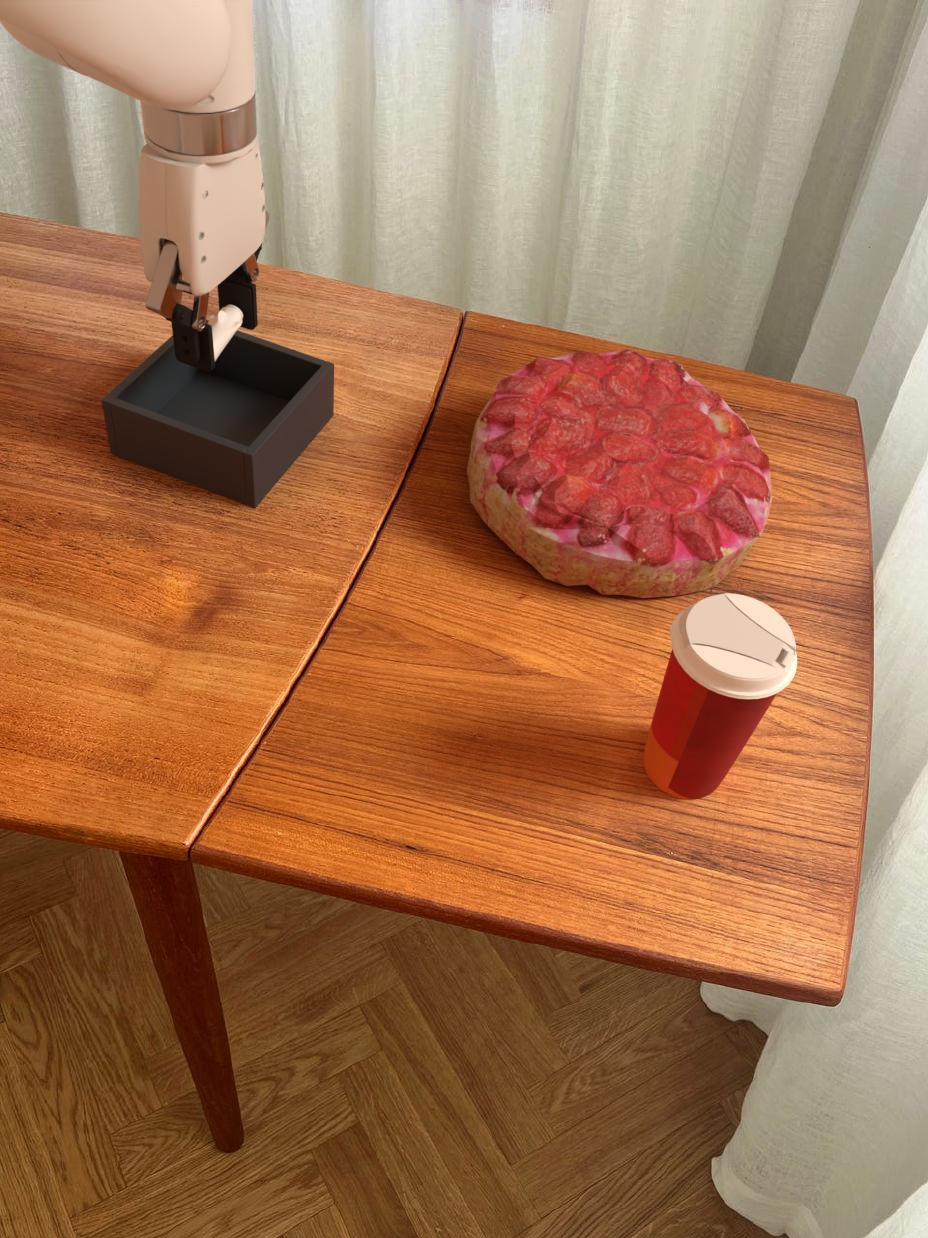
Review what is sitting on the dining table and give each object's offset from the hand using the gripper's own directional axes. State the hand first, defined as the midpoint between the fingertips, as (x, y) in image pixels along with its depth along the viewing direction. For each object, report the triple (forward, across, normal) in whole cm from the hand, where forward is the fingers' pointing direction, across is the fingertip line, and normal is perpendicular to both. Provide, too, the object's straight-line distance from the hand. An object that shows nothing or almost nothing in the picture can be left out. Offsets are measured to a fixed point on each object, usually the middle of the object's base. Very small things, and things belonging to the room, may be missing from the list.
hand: (217, 341), depth 88 cm
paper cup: (+10, +15, +45) cm, 48 cm away
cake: (+10, -9, +32) cm, 35 cm away
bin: (+9, 0, 0) cm, 9 cm away
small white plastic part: (+1, 0, 0) cm, 1 cm away
